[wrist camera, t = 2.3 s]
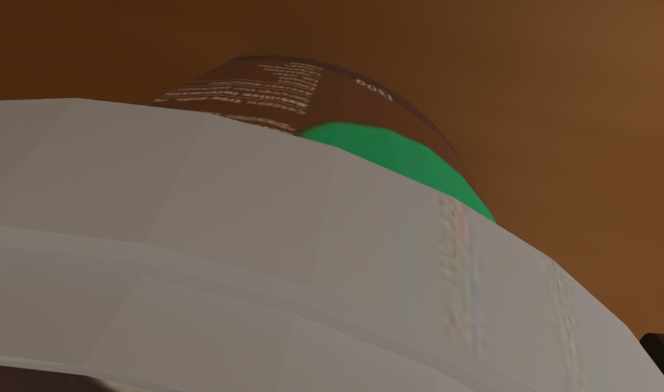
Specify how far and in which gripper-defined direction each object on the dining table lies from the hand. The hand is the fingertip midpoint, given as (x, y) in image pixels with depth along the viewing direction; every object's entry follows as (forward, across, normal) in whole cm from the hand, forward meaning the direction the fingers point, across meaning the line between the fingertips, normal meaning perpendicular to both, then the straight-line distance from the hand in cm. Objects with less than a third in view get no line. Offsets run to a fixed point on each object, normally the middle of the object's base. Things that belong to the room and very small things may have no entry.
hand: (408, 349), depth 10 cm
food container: (+4, 0, 0) cm, 4 cm away
